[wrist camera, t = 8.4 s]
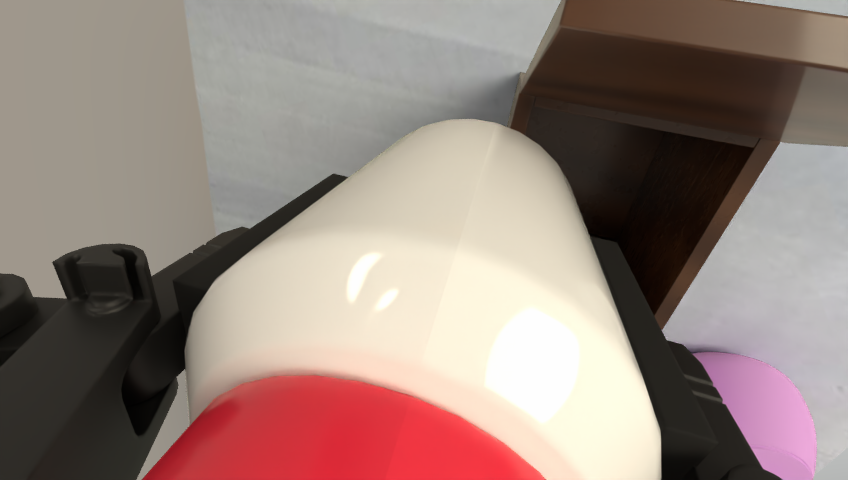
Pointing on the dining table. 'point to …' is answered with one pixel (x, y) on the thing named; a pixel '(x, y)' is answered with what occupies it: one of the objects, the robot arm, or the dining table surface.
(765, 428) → the teapot
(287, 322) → the pill bottle
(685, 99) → the lid
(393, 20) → the dining table surface
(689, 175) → the chest
